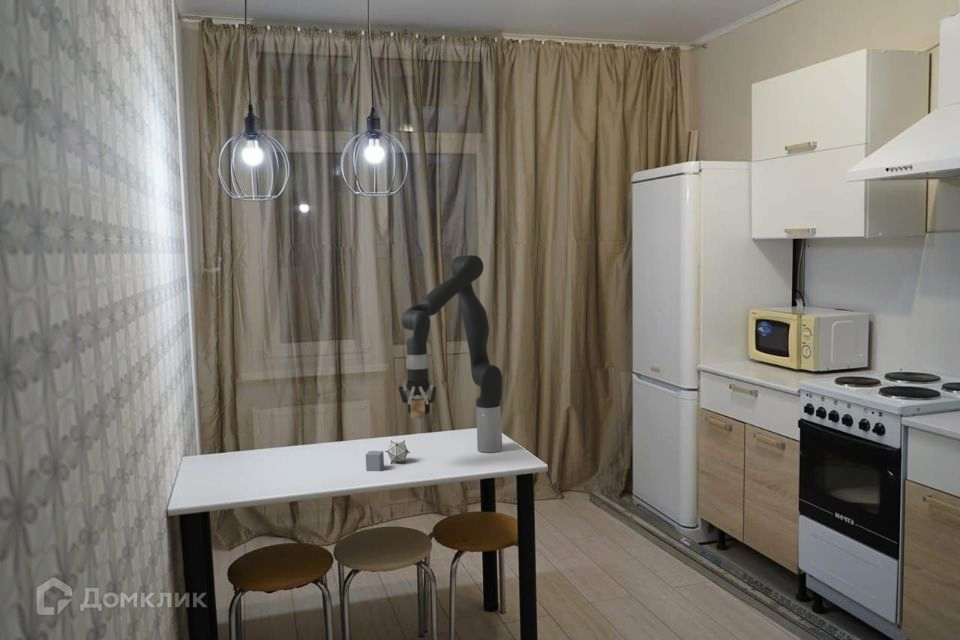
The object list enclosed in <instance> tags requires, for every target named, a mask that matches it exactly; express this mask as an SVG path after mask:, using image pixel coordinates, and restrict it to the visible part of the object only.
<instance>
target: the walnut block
mask: <svg viewBox="0 0 960 640" xmlns="http://www.w3.org/2000/svg"><path fill="white" fill-rule="evenodd" d="M425 404H426V403H425V401H424V399H423V398H413V400H412V401H410V407H411V415H410V419H426V418H427V417H428V416H429V414H428V415H426V411H425Z"/></svg>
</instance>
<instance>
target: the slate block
mask: <svg viewBox="0 0 960 640" xmlns="http://www.w3.org/2000/svg"><path fill="white" fill-rule="evenodd" d="M384 456H385V455H384V450H369V451H368V452H367V453H366V454H365V469H366V470H365V472H381V471H382V470H383V469H384V468H385V459H384V458H385V457H384ZM383 467H384V468H383ZM382 468H383V469H382ZM381 469H382V470H381ZM380 470H381V471H380Z"/></svg>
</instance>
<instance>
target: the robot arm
mask: <svg viewBox="0 0 960 640" xmlns="http://www.w3.org/2000/svg"><path fill="white" fill-rule="evenodd" d="M450 270H451V275H452V276H451V277H450V278H448V279H447V280H444V281H443V282H442V283H440V284H438V285H437V286H435V287H434V288H433V289H431V290H430V292H428V293H427V294H426V295H425V297H423V298H422V299H421V300H420V301H417V302H416V303H415V304H413V305H412V306H410V307H409V308H408V309H406V311H404V313H403V314H402V317H401V320H400V321H401V325H402V327H403V328H404V329H406V330H409V331H413V333H412V336H411V337H409V338H407V339H406V366H405V367H406V381H407V382H406V384H404V385H399V386H398V390H399V394H400V397H401V401H402V403H404V404H405V403H406V404H407V410H408V411H407V412H408V414H409V415H410V416H411V407H410V401H412V400H413V399H415V396H421V397H422V399H424V401H425V403H426V404H425V411H426V415H428V416H429V414H430V412H431V403H434V402H435V400H436V397H437V392H438V387H439V386H438V385H437V384H435V385H434V384H431V383H430V379H429V361H428V360H429V359H428V351H427V350H428V349H427V347H428V345H427V341H428V337H429V332H430V328H431V320H430V317H432V316H434V315H436V314H437V313H438V312H440V310H441V309H443V307H444V306H445V305H446V304H447V303H448V302H449V301H450V300H452V299H453V297H455V296H456V295H457V296H458V300H459V305H460V310H461V315H462V321H463V322H462V323H463V327H464V332H465V336H466V341H467V347H468V352H469V359H470V360H469V361H470V372H471V377H472V378H471V379H472V381H473V382H474V384H475V385H476V386H478V387H480V391H479V392H480V393H479V394H480V395H479V397H477V398H476V399H475V400H476V401H475V406H476V407H475V409H476V410H475V411H476V439H477V441H476V442H477V443H476V445H477V446H476V447H477V451H478V452H480V453H497V452H498V453H499V452H501V451H502V449H503V425H502V421H501V417H502V416H501V400H502V397H503V375H502V371H501V369H500V368H499V367H498V366H496V365H493V364H491V363H490V360H489V356H488V340H489V334H490V325H489V321H488V320H489V319H488V315H487V311H486V308H485V307H484V305H483V304H482V302H481V301H480V299H479V298H478V297H477V295H476V293H475V291H474V288H473V284H472V283H473V282H474V281H476V280H477V279H478V278H479V277H481V275H482V274H483V272H484V263H483V260H482V258H481V257H479V256H478V255H473V254H469V255H459V256H455V257H454V258H453V259H452V262H451V266H450ZM429 389H430V391H431V396H430V398H429V394H428V390H429ZM407 390H408V392H409V396H408V397H407V394H406V391H407Z"/></svg>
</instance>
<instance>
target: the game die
mask: <svg viewBox="0 0 960 640" xmlns="http://www.w3.org/2000/svg"><path fill="white" fill-rule="evenodd" d="M405 442H406V439H404V440H403V441H392V440H390V445H389V448H388V449H387V450H385V453H387V454H388V457H389V458H390V464H392V463H393V462H394V463H395V462H396V463H397V462H399V463H400V462H403V463H404V464H405V463H406V458H407V456H408V455H409V454H410V453H411V452H410V451H409V450H408V449H407V446H406V443H405Z"/></svg>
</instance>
